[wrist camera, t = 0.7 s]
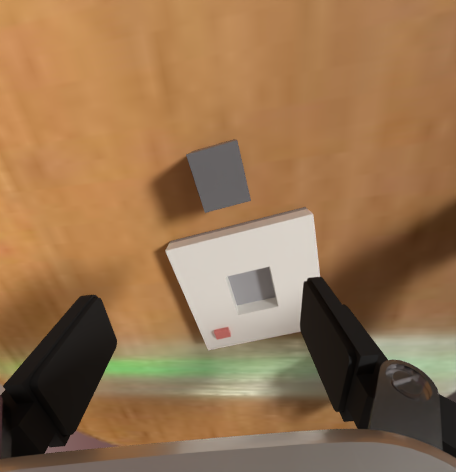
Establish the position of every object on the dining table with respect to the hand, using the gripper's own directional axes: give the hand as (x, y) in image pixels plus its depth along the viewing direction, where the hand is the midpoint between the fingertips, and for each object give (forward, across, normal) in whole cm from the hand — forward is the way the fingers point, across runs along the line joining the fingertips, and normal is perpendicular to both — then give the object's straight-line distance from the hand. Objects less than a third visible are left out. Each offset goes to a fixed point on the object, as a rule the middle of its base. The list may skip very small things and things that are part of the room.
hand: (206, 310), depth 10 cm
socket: (+22, -5, +14) cm, 26 cm away
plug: (+22, -1, -4) cm, 22 cm away
